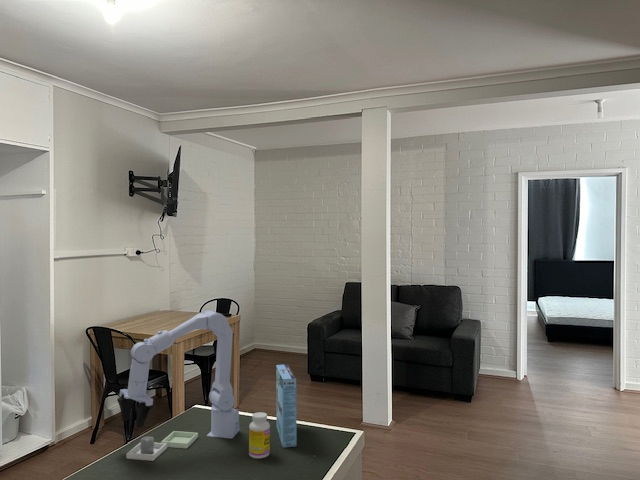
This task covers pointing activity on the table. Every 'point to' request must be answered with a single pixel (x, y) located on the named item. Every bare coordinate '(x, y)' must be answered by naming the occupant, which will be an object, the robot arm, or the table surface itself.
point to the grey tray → (136, 454)
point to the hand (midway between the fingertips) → (132, 423)
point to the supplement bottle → (259, 436)
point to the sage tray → (180, 439)
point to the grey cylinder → (147, 445)
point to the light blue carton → (286, 405)
